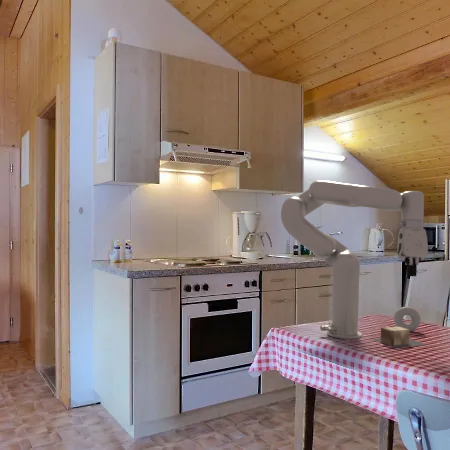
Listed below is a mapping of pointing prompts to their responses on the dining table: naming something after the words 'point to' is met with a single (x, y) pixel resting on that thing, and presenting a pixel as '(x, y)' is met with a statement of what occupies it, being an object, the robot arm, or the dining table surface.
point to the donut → (412, 313)
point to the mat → (411, 343)
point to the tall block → (395, 335)
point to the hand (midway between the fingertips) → (411, 275)
